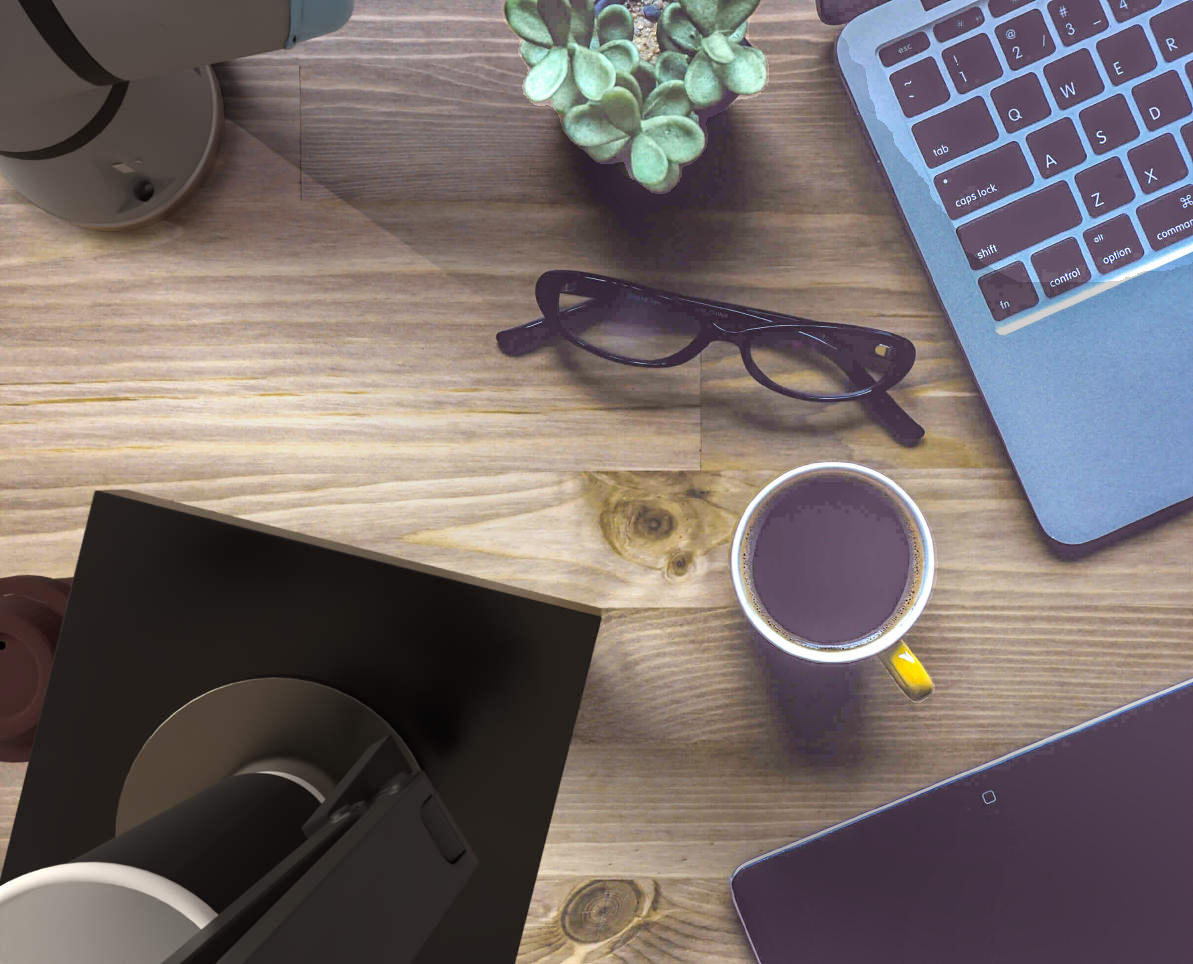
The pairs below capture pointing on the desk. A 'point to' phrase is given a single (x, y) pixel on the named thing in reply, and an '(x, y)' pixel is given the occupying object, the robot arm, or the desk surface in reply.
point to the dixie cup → (157, 876)
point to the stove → (301, 692)
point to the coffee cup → (27, 655)
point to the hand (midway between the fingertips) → (248, 868)
